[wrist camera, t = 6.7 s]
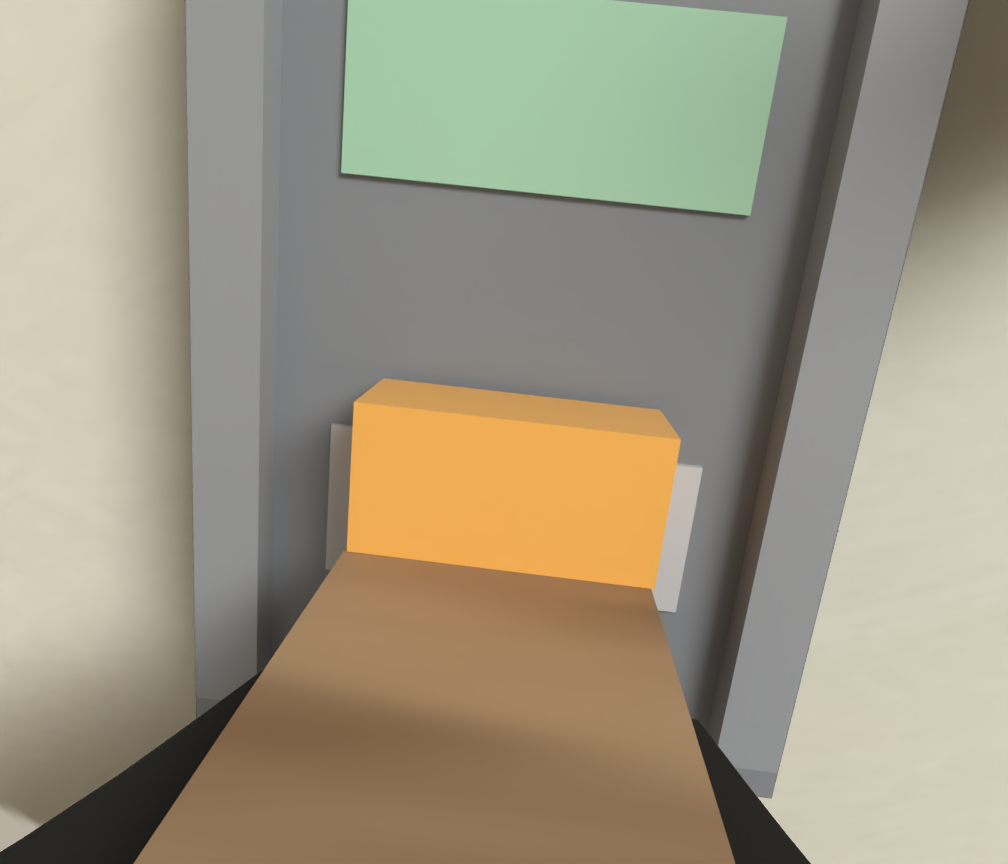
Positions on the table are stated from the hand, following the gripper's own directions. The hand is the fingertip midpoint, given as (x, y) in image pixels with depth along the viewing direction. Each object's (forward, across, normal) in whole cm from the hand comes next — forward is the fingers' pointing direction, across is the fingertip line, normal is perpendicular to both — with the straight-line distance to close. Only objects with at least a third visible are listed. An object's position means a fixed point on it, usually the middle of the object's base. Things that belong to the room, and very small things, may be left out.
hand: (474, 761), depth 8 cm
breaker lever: (+3, 0, -3) cm, 4 cm away
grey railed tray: (+5, 0, -4) cm, 7 cm away
